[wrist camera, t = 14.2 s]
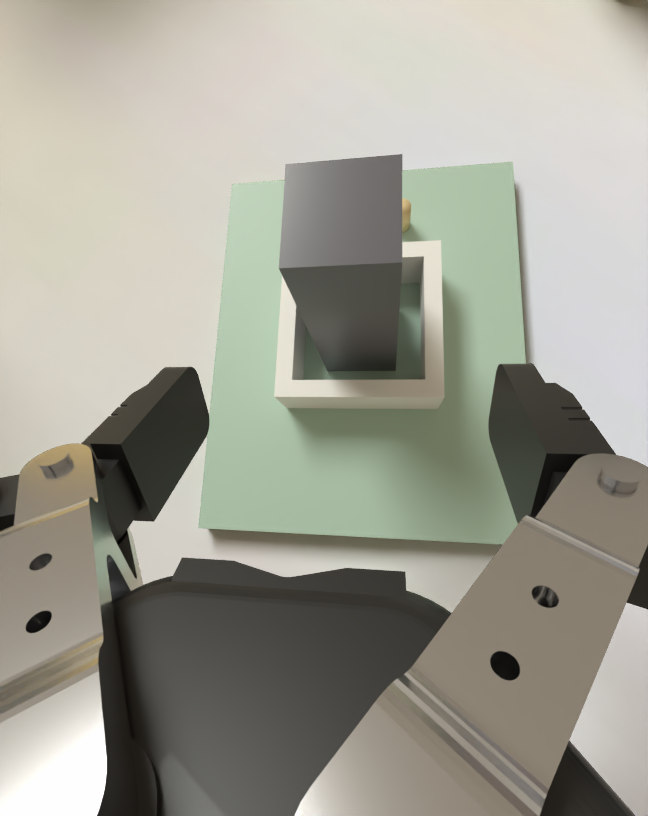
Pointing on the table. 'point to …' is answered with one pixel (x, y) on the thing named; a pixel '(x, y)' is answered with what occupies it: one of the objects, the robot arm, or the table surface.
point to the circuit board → (370, 378)
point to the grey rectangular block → (346, 257)
